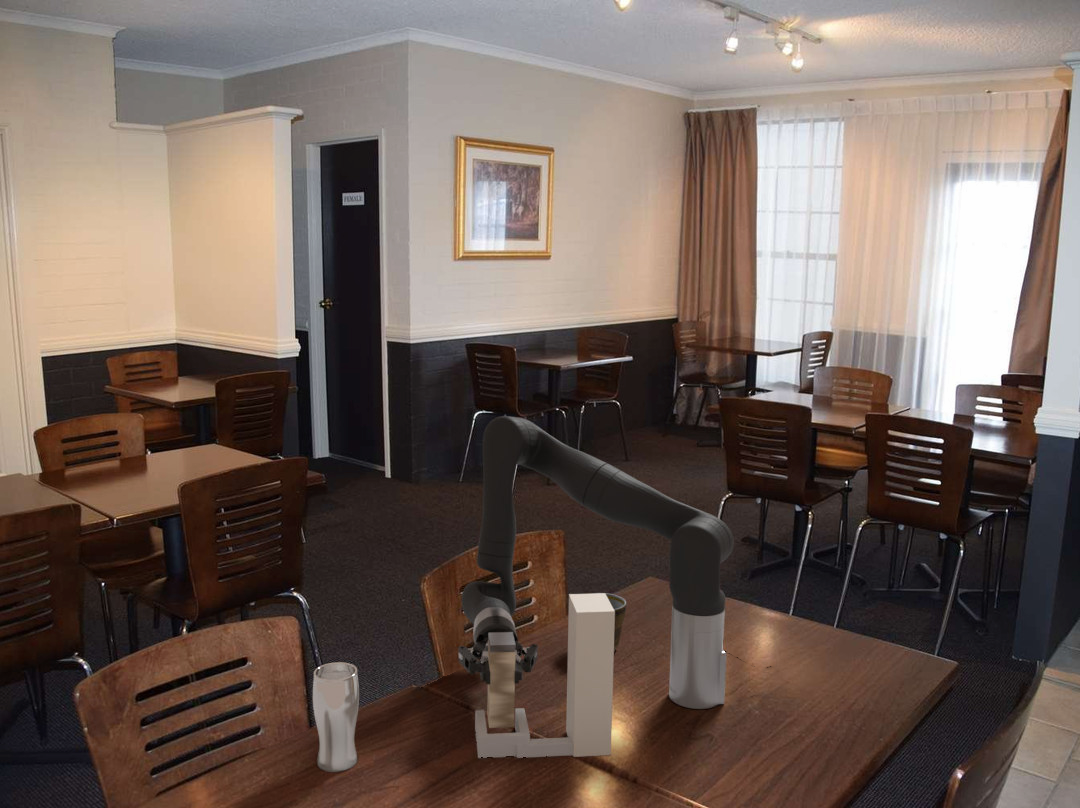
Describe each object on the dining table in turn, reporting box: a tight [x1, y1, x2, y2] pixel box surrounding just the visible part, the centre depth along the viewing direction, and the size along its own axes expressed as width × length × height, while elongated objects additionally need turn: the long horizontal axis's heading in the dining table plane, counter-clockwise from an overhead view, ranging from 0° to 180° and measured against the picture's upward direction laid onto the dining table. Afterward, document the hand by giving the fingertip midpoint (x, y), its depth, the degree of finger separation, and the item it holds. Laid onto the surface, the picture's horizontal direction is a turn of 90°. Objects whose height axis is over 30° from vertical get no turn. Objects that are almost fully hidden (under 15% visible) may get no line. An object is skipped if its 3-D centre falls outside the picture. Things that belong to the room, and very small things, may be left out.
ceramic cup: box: [590, 592, 627, 652], centre depth 187 cm, size 13×10×10 cm
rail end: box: [486, 632, 516, 729], centre depth 150 cm, size 4×5×14 cm
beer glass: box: [312, 661, 360, 773], centre depth 144 cm, size 7×7×15 cm
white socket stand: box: [474, 592, 615, 759], centre depth 150 cm, size 21×10×24 cm, turn 97°
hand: (502, 678), depth 147 cm, fingers closed on rail end, 4 cm apart
